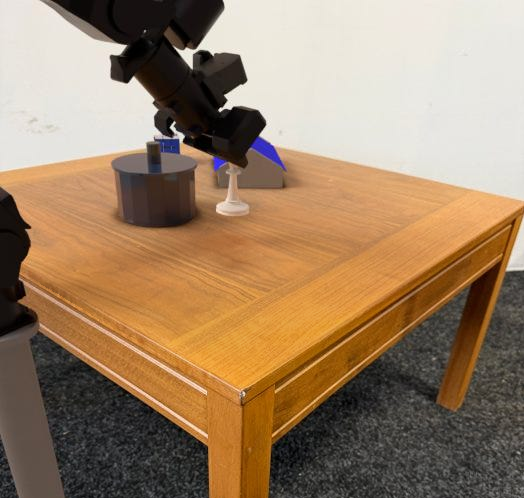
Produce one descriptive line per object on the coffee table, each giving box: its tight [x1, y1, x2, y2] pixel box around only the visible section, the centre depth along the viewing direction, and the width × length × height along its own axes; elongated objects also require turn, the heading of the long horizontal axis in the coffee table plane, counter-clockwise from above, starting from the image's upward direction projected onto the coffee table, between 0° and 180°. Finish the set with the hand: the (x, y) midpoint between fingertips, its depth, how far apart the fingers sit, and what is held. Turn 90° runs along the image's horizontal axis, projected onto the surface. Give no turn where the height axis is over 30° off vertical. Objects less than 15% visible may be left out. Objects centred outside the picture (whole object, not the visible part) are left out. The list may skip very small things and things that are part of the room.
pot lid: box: [110, 140, 198, 177], centre depth 87 cm, size 14×14×4 cm
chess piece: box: [215, 162, 250, 217], centre depth 78 cm, size 5×5×10 cm
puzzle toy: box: [153, 132, 181, 154], centre depth 120 cm, size 6×5×6 cm
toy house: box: [212, 135, 288, 189], centre depth 114 cm, size 22×14×7 cm, turn 6°
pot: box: [113, 169, 197, 228], centre depth 90 cm, size 13×13×8 cm
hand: (241, 164), depth 78 cm, fingers closed on chess piece
